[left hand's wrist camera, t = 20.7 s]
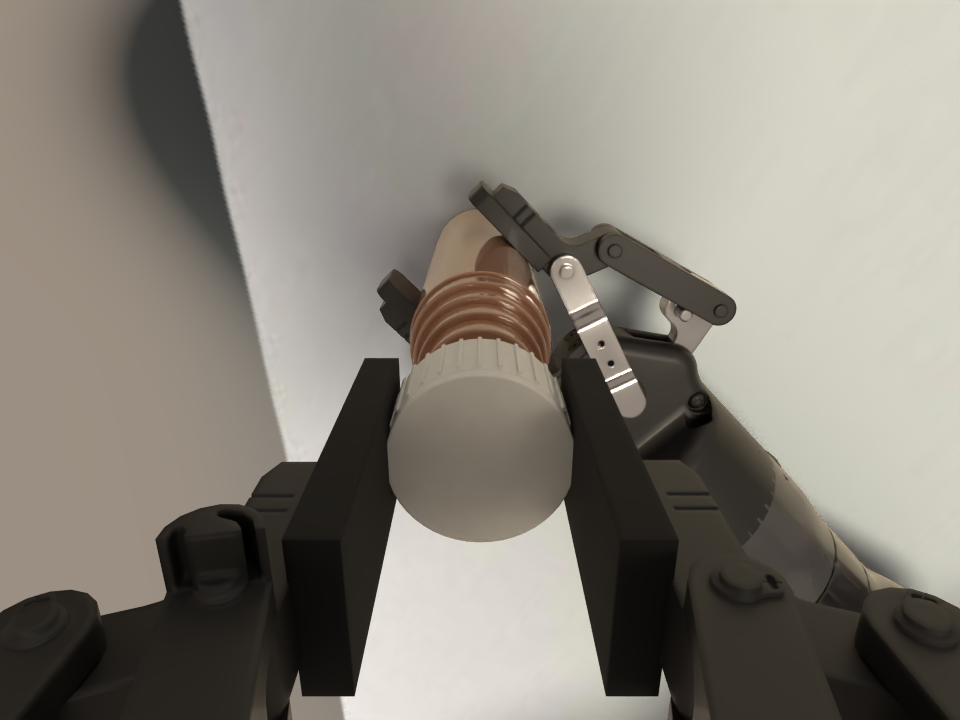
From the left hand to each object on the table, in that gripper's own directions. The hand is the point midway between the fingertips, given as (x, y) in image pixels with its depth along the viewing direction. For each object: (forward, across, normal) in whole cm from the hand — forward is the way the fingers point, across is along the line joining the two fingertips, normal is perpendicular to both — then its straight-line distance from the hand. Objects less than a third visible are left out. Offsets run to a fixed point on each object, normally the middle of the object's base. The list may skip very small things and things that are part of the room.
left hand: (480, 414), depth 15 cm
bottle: (+18, 0, 0) cm, 18 cm away
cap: (-2, 0, 0) cm, 2 cm away
